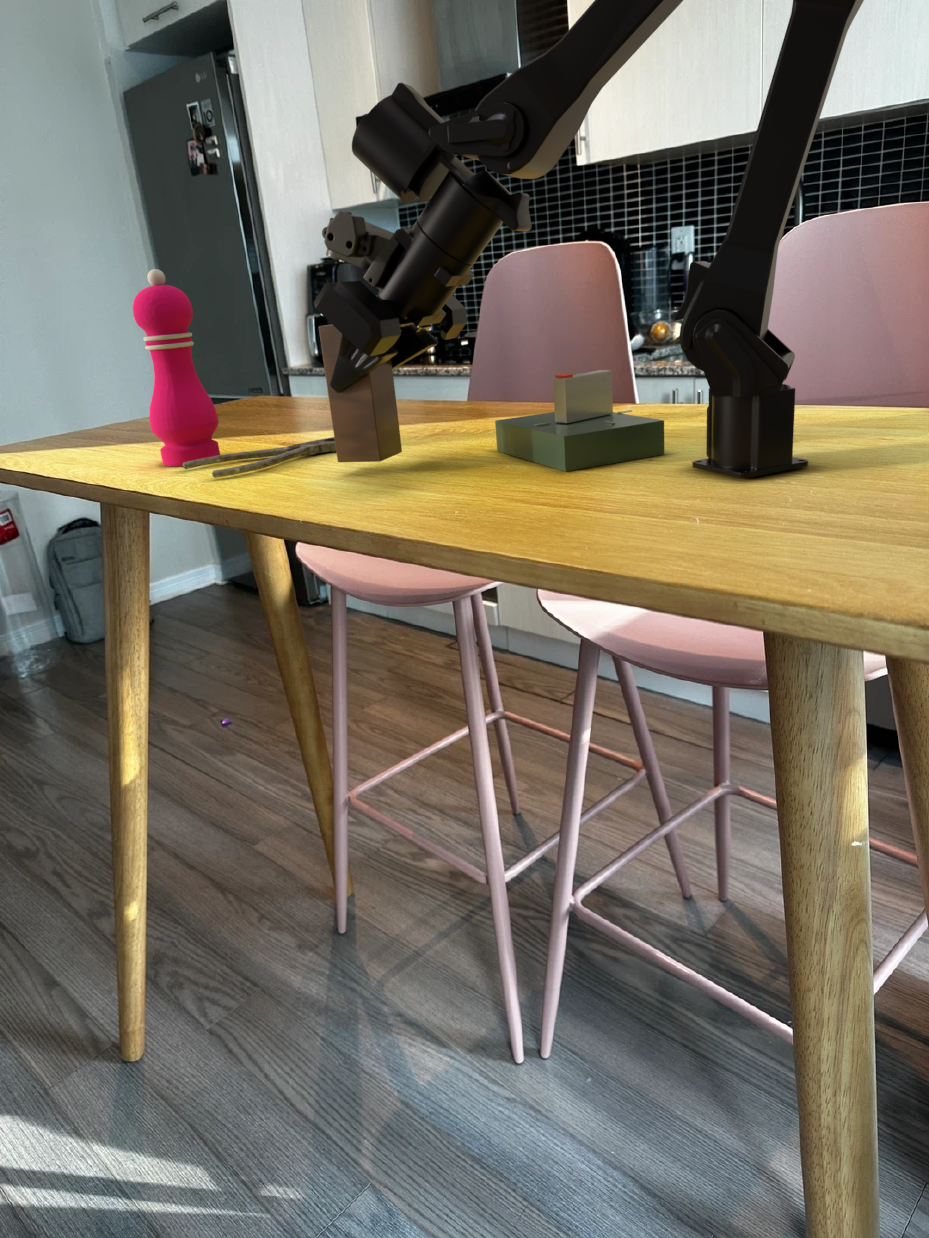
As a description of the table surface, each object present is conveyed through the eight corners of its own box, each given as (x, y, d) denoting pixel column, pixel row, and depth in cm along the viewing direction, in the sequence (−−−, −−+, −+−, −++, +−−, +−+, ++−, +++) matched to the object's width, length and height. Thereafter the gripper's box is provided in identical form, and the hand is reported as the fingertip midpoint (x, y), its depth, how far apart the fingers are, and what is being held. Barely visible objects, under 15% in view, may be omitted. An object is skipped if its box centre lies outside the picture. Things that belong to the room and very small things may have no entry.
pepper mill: (189, 468, 94) (149, 267, 87) (144, 466, 98) (103, 273, 91) (238, 455, 99) (205, 265, 93) (194, 454, 103) (159, 271, 96)
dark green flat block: (675, 452, 79) (674, 416, 78) (565, 471, 75) (563, 434, 74) (594, 435, 91) (593, 404, 90) (497, 451, 87) (494, 419, 86)
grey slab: (601, 413, 84) (599, 367, 83) (613, 414, 83) (611, 367, 82) (554, 423, 81) (552, 375, 80) (566, 424, 80) (564, 375, 78)
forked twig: (167, 465, 91) (317, 431, 105) (168, 473, 91) (319, 438, 105) (219, 471, 85) (372, 434, 98) (221, 480, 85) (373, 442, 99)
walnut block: (402, 452, 84) (386, 319, 79) (380, 461, 80) (363, 322, 76) (360, 453, 85) (343, 323, 81) (337, 462, 81) (318, 326, 77)
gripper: (423, 182, 81) (336, 318, 89) (317, 165, 65) (223, 333, 73) (510, 266, 81) (415, 395, 89) (425, 269, 65) (318, 426, 73)
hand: (347, 385), depth 81 cm, fingers closed on walnut block, 4 cm apart
